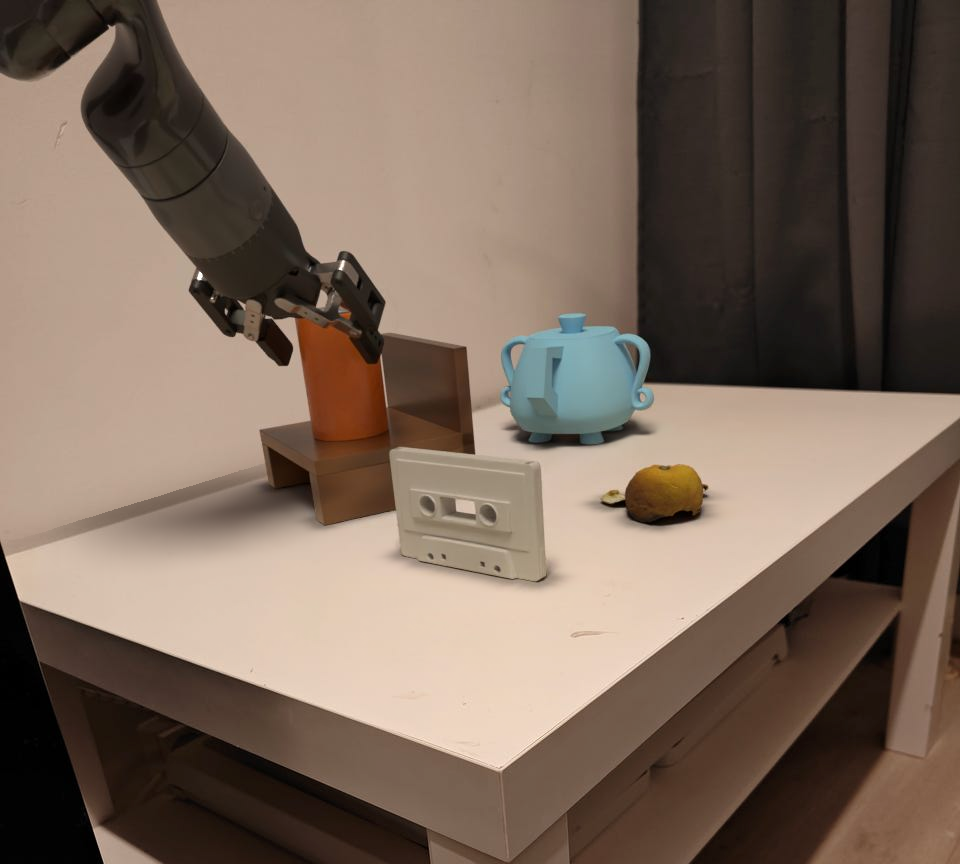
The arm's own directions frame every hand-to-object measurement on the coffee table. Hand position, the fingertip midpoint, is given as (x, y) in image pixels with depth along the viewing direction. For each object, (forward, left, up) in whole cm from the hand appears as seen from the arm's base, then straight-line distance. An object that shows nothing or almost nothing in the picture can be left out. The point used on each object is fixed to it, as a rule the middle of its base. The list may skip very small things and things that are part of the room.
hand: (330, 356), depth 78 cm
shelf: (+2, +1, -12) cm, 12 cm away
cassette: (0, -23, -12) cm, 26 cm away
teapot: (+27, +5, -12) cm, 30 cm away
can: (+1, +1, -7) cm, 7 cm away
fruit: (+18, -21, -12) cm, 30 cm away
